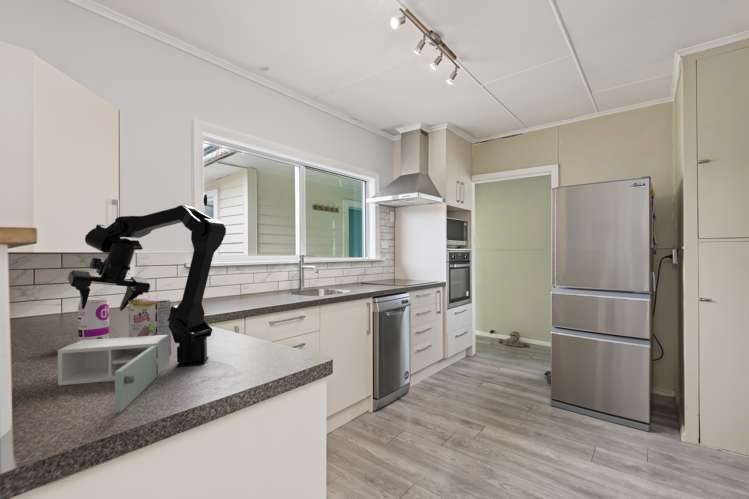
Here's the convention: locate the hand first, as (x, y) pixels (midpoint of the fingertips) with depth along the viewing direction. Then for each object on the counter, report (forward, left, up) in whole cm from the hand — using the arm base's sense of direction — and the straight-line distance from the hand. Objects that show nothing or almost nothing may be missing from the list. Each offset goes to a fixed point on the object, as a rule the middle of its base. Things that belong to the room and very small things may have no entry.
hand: (102, 309), depth 104 cm
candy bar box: (-13, +2, -14) cm, 19 cm away
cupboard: (-11, +18, -14) cm, 25 cm away
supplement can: (+11, -21, -14) cm, 28 cm away
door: (-21, +33, -14) cm, 42 cm away
